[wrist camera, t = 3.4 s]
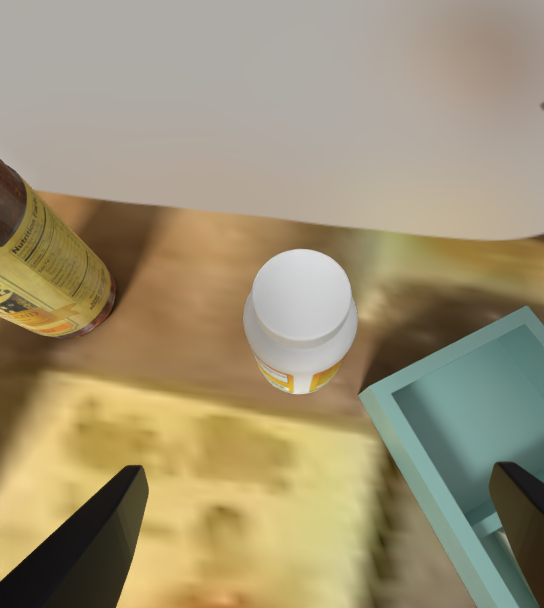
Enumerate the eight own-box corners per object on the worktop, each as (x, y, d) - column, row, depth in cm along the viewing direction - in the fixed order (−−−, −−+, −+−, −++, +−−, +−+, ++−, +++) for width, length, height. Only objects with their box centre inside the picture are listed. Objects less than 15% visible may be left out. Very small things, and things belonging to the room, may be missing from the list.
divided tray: (710, 606, 18) (805, 642, 14) (541, 721, 16) (603, 789, 13) (494, 325, 23) (527, 305, 20) (357, 395, 22) (368, 386, 19)
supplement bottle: (337, 311, 24) (362, 229, 15) (344, 394, 22) (379, 356, 13) (256, 314, 24) (234, 235, 15) (256, 396, 22) (232, 360, 13)
